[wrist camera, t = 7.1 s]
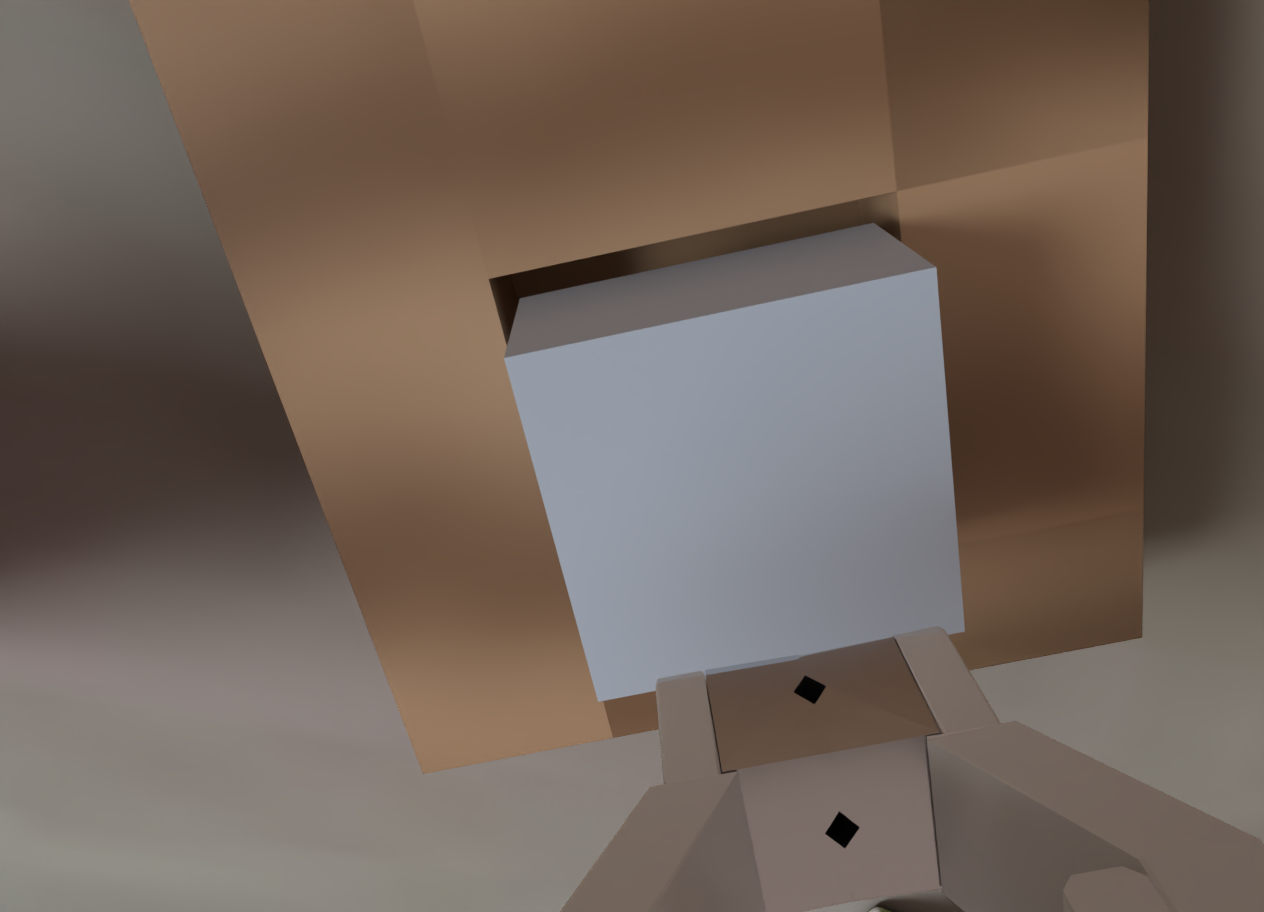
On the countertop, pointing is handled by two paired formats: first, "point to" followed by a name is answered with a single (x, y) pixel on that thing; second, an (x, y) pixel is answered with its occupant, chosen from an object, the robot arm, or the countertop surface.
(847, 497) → the slate key
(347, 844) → the countertop surface
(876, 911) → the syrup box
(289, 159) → the two-button wooden panel
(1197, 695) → the countertop surface
